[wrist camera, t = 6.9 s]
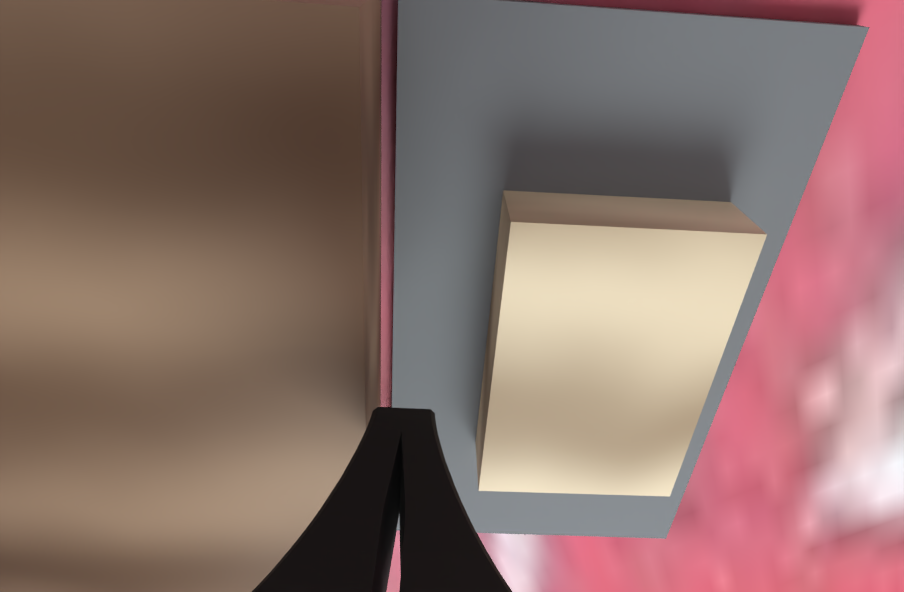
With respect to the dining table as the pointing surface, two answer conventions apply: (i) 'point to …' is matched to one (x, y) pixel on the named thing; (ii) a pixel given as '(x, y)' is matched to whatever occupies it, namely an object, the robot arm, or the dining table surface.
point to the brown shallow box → (182, 284)
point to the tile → (605, 338)
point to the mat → (582, 183)
